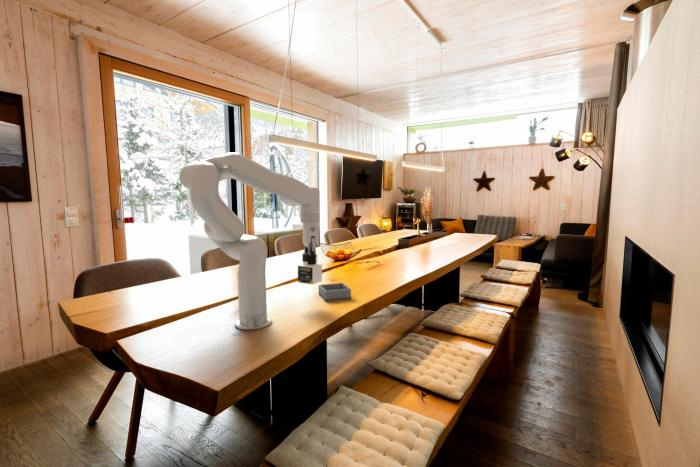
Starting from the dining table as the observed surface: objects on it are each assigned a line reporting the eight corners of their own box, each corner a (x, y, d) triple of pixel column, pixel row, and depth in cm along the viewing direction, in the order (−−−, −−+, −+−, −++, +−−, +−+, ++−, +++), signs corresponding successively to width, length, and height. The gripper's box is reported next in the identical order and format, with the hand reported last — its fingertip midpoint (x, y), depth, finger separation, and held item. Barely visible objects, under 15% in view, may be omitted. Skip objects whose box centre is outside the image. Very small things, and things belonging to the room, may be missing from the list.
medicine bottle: (297, 282, 140) (297, 253, 139) (307, 279, 147) (307, 251, 146) (312, 284, 137) (312, 254, 136) (322, 281, 143) (322, 252, 142)
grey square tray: (350, 298, 153) (350, 288, 153) (325, 301, 150) (325, 291, 149) (342, 292, 164) (342, 282, 164) (318, 294, 161) (318, 284, 160)
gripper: (324, 219, 133) (324, 266, 134) (314, 217, 149) (314, 259, 150) (305, 219, 130) (305, 267, 132) (296, 217, 146) (296, 260, 148)
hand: (309, 262), depth 141 cm, fingers closed on medicine bottle, 6 cm apart
